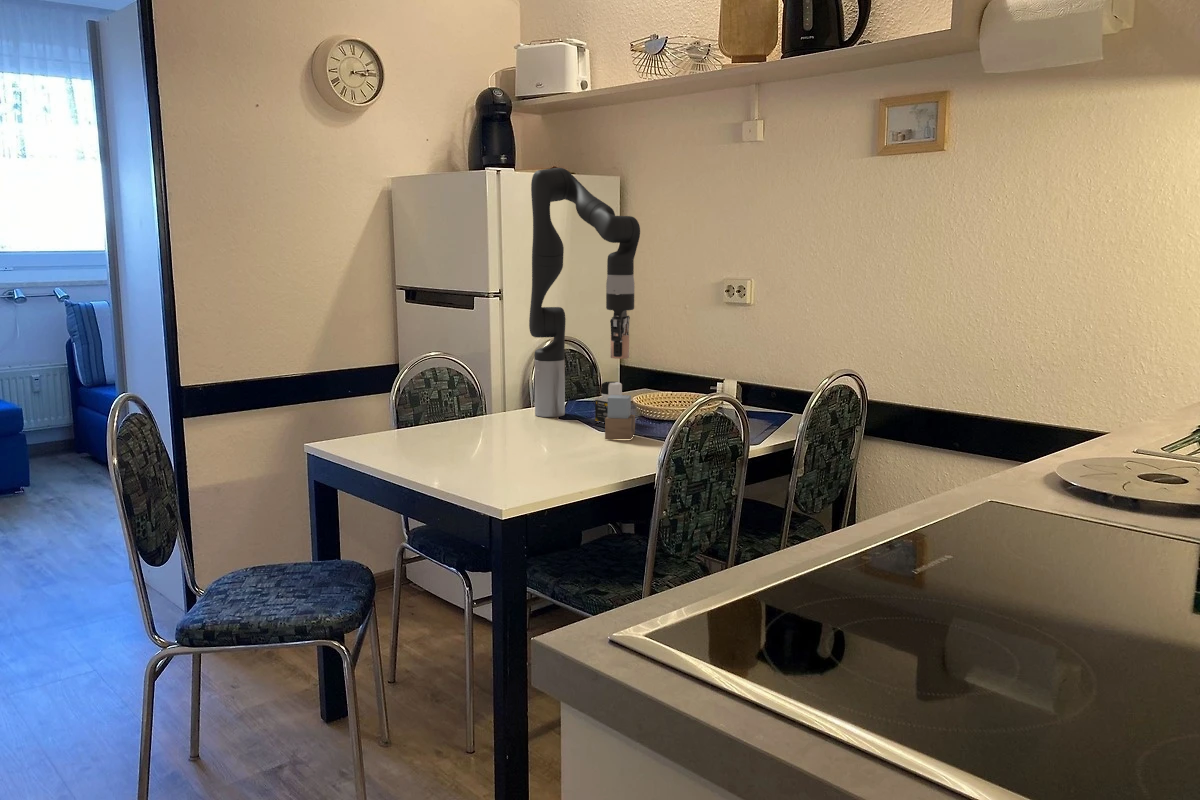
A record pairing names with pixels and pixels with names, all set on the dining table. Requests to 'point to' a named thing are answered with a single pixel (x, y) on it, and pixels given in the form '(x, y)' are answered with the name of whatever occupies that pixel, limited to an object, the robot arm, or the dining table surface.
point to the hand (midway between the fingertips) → (619, 355)
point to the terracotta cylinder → (624, 348)
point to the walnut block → (619, 428)
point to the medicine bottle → (606, 399)
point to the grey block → (619, 406)
